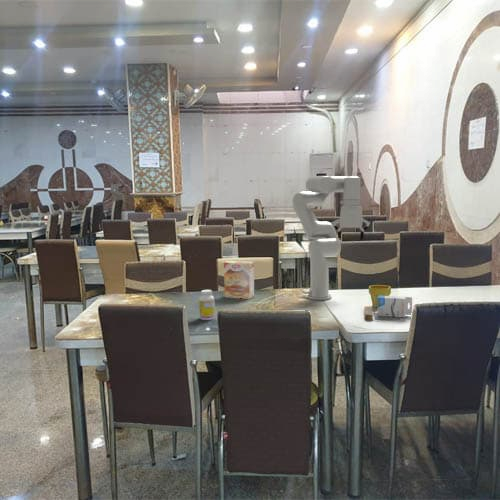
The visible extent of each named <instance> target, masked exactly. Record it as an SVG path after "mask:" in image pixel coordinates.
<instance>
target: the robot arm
mask: <svg viewBox="0 0 500 500" xmlns="http://www.w3.org/2000/svg"><path fill="white" fill-rule="evenodd" d="M305 187H306V190H307V191H306V190H304V191H299V192H296V193H295V194H294V195H293V197H292V207H293V210H294V212H295V214H296V215H297V217H298V219H299V222H300V223H301V225H302V228H303V231H304V233H305V237H307V239H309V240H310V241H309V244H308V255H309V260H310V263H309V264H310V268H309V270H310V272H309V273H310V275H309V276H310V288H308V289H301V290H302V291H301V294H304V295H307V299H309V300H313V301H314V300H315V301H326V300H327V301H328V300H331V299H332V295H331V294H329V291H330V290H329V288H330V287H329V285H330V284H329V282H330V281H329V278H330V277H329V275H330V273H329V263H328V260H327V259H326V257H331V256H332V257H333V256H338V255H340V253H341V250H342V244H341V242H340V241H341V240H342V229H359V230H360V239H359V240H360V241H363V240H364V234H365V231H367V230H368V228H369V226H370V225H371V221H368V220H366V219H364V218H363V208H362V206H361V205H360V204H361V178H360V177H359V176H344V175H343V176H342V175H337V176H333V175H332V176H328V175H321V176H319V175H318V176H316V175H315V176H311V177H309V178H308V179H307V180H306V182H305ZM331 193H343V197H342V198H343V200H339V204H340V205H342V206H341V208H340V213H339V215H340V216H339V218H338V219H335V220H334V221H332V222H329V221H319V220H318V219H317V216H316V214H315V213H314V212H313V211H312V209H310V207H311V208H313V207H321V206H323V205H324V204H325V203H326V201H327V200H328V198H329V196H330V195H331ZM338 223H339V227H338V226H337V224H338ZM363 223H365V224H366V225H365V226H364V227H363ZM336 231H337V232H336Z"/></svg>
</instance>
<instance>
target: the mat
mask: <svg viewBox="0 0 500 500" xmlns="http://www.w3.org/2000/svg"><path fill="white" fill-rule="evenodd" d="M373 316H374V317H373V318H374V320H377V321H379V320H380V321H381V320H383V321H384V320H386V321H402V317H388V316H378V311H377V312H373Z"/></svg>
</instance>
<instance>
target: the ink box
mask: <svg viewBox="0 0 500 500" xmlns="http://www.w3.org/2000/svg"><path fill="white" fill-rule="evenodd" d="M377 313H378V316H388V317H400V318H406V316H411V313H412V314H413V297H411V296H401V295H400V296H399V295H398V296H397V295H394V296H393V295H389V296H378V308H377Z"/></svg>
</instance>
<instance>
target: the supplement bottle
mask: <svg viewBox="0 0 500 500" xmlns="http://www.w3.org/2000/svg"><path fill="white" fill-rule="evenodd" d="M200 293H201V295H200V296H199V299H198V300H199V318H200V320H202V321H210V320H214V319H215V317H216V316H215V315H216V314H215V311H216V310H215V297H214V296H213V295H212V294H213V291H212V289H203V290H201V292H200Z"/></svg>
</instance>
